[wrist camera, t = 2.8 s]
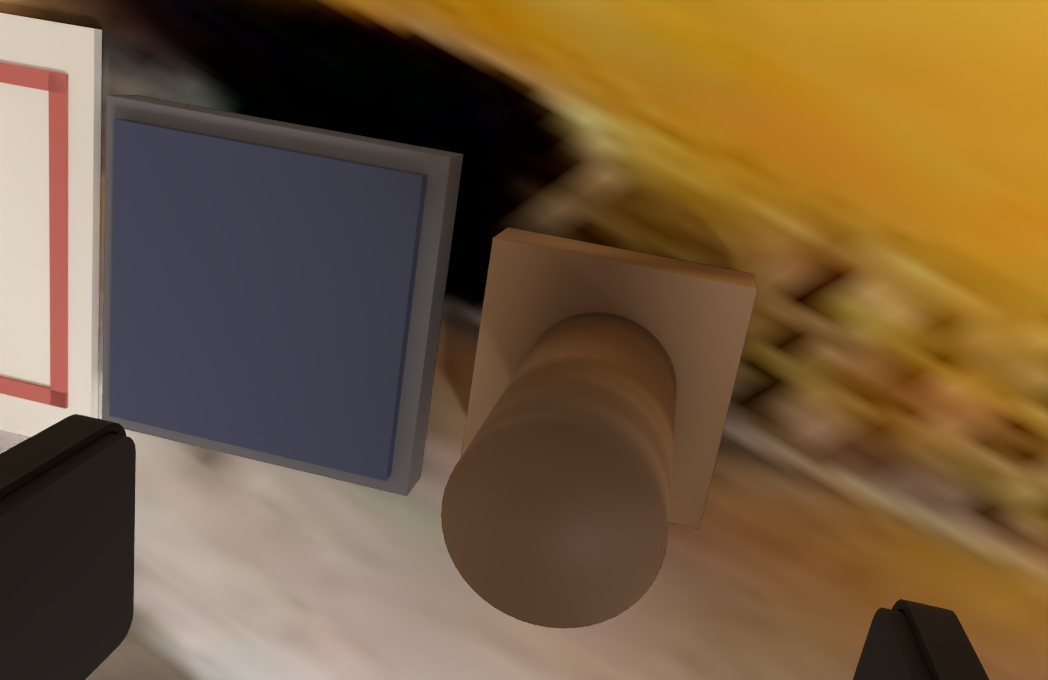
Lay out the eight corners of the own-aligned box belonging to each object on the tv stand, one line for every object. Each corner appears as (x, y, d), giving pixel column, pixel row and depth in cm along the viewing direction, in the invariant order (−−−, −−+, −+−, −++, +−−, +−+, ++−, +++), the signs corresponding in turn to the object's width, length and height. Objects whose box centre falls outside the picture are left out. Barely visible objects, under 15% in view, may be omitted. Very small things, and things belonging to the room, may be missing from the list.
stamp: (751, 269, 21) (790, 391, 12) (698, 488, 23) (700, 732, 14) (512, 223, 22) (391, 308, 13) (479, 439, 24) (353, 640, 15)
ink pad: (463, 154, 22) (446, 158, 20) (420, 477, 24) (402, 502, 23) (135, 95, 23) (96, 95, 21) (128, 409, 26) (92, 428, 24)
